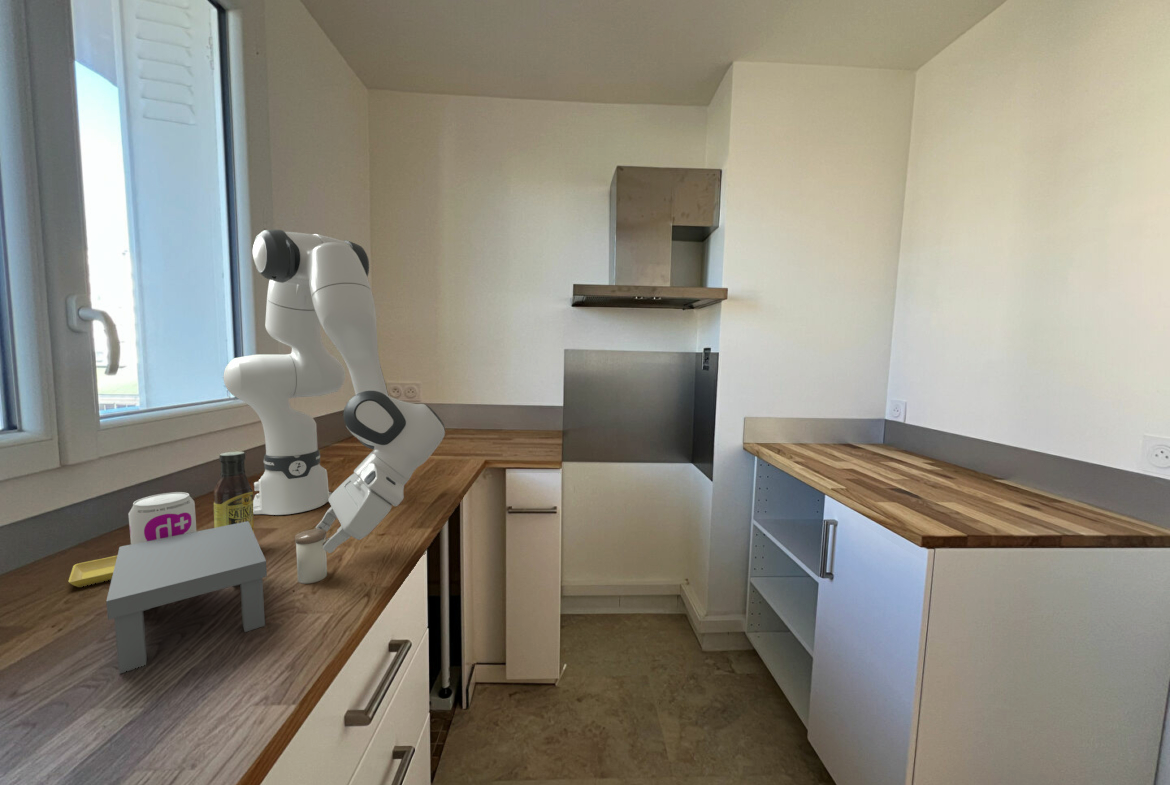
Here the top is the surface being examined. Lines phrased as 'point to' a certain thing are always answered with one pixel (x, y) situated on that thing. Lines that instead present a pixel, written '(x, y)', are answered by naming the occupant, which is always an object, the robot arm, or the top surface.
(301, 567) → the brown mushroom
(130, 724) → the top surface
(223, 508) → the sauce bottle
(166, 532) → the supplement can
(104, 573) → the yellow shallow tray
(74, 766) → the top surface
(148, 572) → the footstool
